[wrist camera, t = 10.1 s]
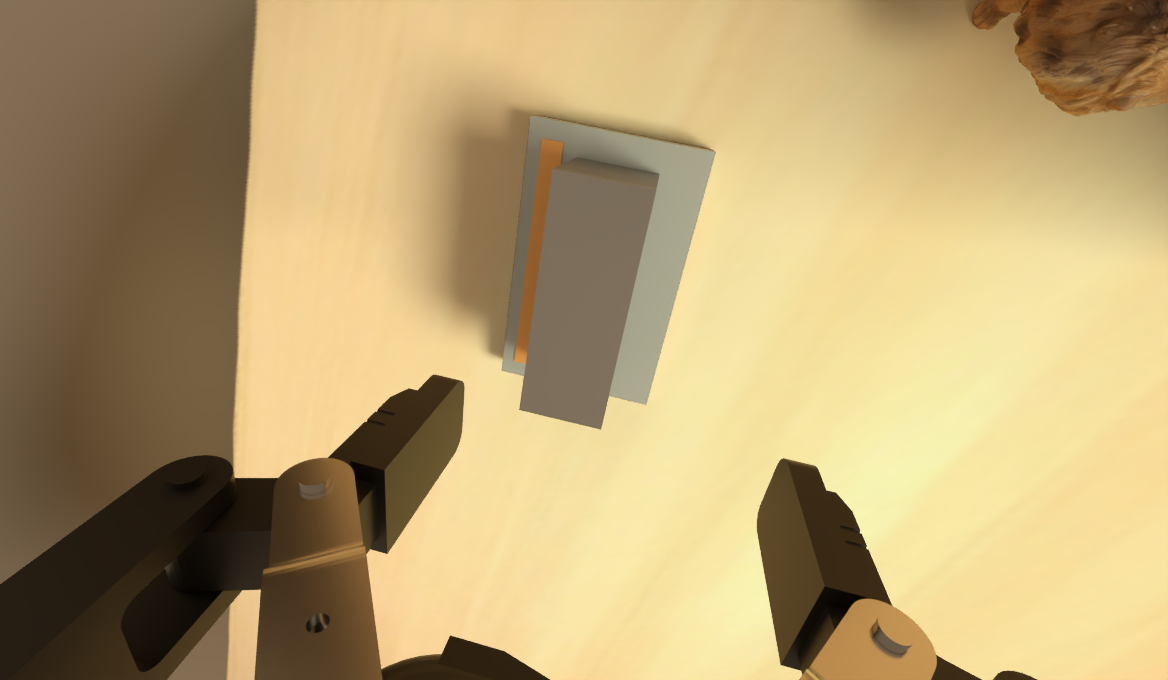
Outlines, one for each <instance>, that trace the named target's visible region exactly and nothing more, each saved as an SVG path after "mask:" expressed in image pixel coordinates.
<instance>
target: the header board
mask: <svg viewBox="0 0 1168 680" xmlns="http://www.w3.org/2000/svg"><path fill="white" fill-rule="evenodd" d="M715 153H716V152H715V151H714V150H710V149H705V148H700V147H695V146H689V145H684V144H679V143H674V142H669V141H664V140H659V139H654V138H649V137H644V136H639V135H634V134H629V133H624V132H619V131H614V130H609V129H604V128H599V127H594V126H588V125H583V124H578V123H573V122H568V121H563V120H558V119H553V118H548V117H543V116H538V115H534V116H531V117H530V126H529V135H528V143H527V152H526V161H525V170H524V179H523V187H522V196H521V205H520V214H519V223H518V231H517V240H516V249H515V258H514V267H513V276H512V284H511V293H510V302H509V311H508V320H507V328H506V337H505V346H504V355H503V364H502V371H505V372H509V373H514V374H518V375H522V376H524V373H525V366H526V358H527V351H528V344H529V336H530V329H531V322H532V315H533V307H534V300H535V293H536V286H537V278H538V271H539V264H540V256H541V249H542V242H543V235H544V227H545V220H546V213H547V206H548V198H549V191H550V184H551V176H552V169H553V168H555V167H557V166H559V165H561V164H563V163H566V162H568V161H570V160H572V159H574V158H576V157H579V158H584V159H588V160H593V161H598V162H603V163H608V164H613V165H618V166H623V167H628V168H633V169H638V170H643V171H648V172H653V173H658V174H659V179H658V185H657V190H656V194H655V199H654V203H653V207H652V212H651V216H650V220H649V225H648V229H647V233H646V237H645V242H644V246H643V250H642V255H641V259H640V263H639V268H638V272H637V276H636V281H635V285H634V289H633V294H632V298H631V302H630V307H629V311H628V315H627V319H626V324H625V328H624V332H623V337H622V341H621V345H620V350H619V354H618V358H617V363H616V367H615V371H614V376H613V380H612V384H611V388H610V393H609V396H611V397H615V398H620V399H624V400H628V401H632V402H637V403H641V404H645V405H646V404H647V400H648V396H649V393H650V389H651V385H652V382H653V378H654V375H655V371H656V367H657V364H658V360H659V356H660V353H661V349H662V345H663V342H664V338H665V335H666V331H667V327H668V324H669V320H670V316H671V313H672V309H673V305H674V302H675V298H676V295H677V291H678V287H679V284H680V280H681V276H682V273H683V269H684V265H685V262H686V258H687V255H688V251H689V247H690V244H691V240H692V236H693V233H694V229H695V226H696V222H697V218H698V215H699V211H700V207H701V204H702V200H703V196H704V193H705V189H706V186H707V182H708V178H709V175H710V171H711V167H712V164H713V160H714V156H715Z"/></svg>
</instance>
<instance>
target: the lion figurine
mask: <svg viewBox="0 0 1168 680" xmlns="http://www.w3.org/2000/svg"><path fill="white" fill-rule="evenodd" d="M1021 11H1022V12H1021ZM1011 12H1021V15H1020V16H1019V17H1018V18H1017V21H1016V22H1015V23H1014V30H1015V32H1016V34H1017V35H1018V36H1019V37H1020V38H1019V41H1018V43H1017V45H1016V47H1015V53H1016V54H1017V56H1018V57H1019V62H1021V63H1022V65H1023V66H1025V67H1026V68H1027V69H1028V70H1029V71H1031V74H1032V76H1033V78H1034V79H1035V81H1036V85H1037V86H1038V87H1039V92H1040V93H1041V94H1043V95H1045V98H1046V99H1048V100H1050V101H1052V102H1054V103H1055V104H1056V105H1057V106H1058V107H1059V108H1060V109H1061V110H1062V111H1064V112H1067V113H1070V114H1072V115H1075V116H1082V115H1086V114H1091V113H1099V112H1103V111H1104V112H1107V111H1110V110H1119V111H1126V110H1129V109H1131V108H1133V107H1146V106H1151V105H1155V104H1164V103H1167V102H1168V0H985V1H983V2H982V3H981V4H980V5H979V6H977V8H976V9H975V11H974V13H973V22H974V24H975V26H976V27H977V28H979V29H992V28H993V27H994V26H995V25H996V24H997V23H998V22H999V20H1000V19H1002V18H1004V17H1006V16H1008V15H1009V14H1010V13H1011Z"/></svg>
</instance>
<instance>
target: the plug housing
mask: <svg viewBox="0 0 1168 680" xmlns="http://www.w3.org/2000/svg"><path fill="white" fill-rule="evenodd" d="M658 179H659V174H658V173H653V172H648V171H643V170H638V169H633V168H628V167H623V166H618V165H613V164H608V163H603V162H598V161H593V160H588V159H584V158H579V157H576V158H574V159H572V160H570V161H568V162H566V163H563V164H561V165H559V166H557V167H555V168H553V169H552V176H551V184H550V191H549V198H548V206H547V213H546V220H545V227H544V235H543V242H542V249H541V256H540V264H539V271H538V278H537V286H536V293H535V300H534V307H533V315H532V322H531V329H530V336H529V344H528V351H527V358H526V366H525V373H524V380H523V387H522V395H521V402H520V409H519V410H522V411H526V412H531V413H535V414H539V415H543V416H547V417H551V418H555V419H560V420H564V421H568V422H572V423H576V424H580V425H585V426H589V427H593V428H597V429H601V427H602V423H603V419H604V414H605V410H606V406H607V401H608V397H609V393H610V388H611V384H612V380H613V376H614V371H615V367H616V363H617V358H618V354H619V350H620V345H621V341H622V337H623V332H624V328H625V324H626V319H627V315H628V311H629V307H630V302H631V298H632V294H633V289H634V285H635V281H636V276H637V272H638V268H639V263H640V259H641V255H642V250H643V246H644V242H645V237H646V233H647V229H648V225H649V220H650V216H651V212H652V207H653V203H654V199H655V194H656V190H657V185H658Z"/></svg>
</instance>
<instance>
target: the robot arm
mask: <svg viewBox="0 0 1168 680" xmlns="http://www.w3.org/2000/svg"><path fill="white" fill-rule="evenodd" d="M463 405H464V383H463V381H460V380H456V379H451V378H447V377H443V376H439V375H432V376H431V377H430V378H429V379H428V380H427V381H426V382H425V383H424V384H423V385H422V386H421V387H420V388H419V390H418V391H417V390H413V389H407V390H405V391H402V392H400V393H398V394H396V395H394V396H392V397H390V398H389V399H388V400H387V401H386V402H385V403H384V404H383V405H382V406H381V407H380V408H379V409H378V411H377V412H375V413H374V414H372V415H371V416H370V417H369V418H368V419H367V422H364V423H363V424H362V425H361V426H360V427H359V428H358V429H357V430H356V431H355V432H354V433H353V434H352V435H351V436H350V437H349V438H348V439H347V440H346V441H345V442H344V443H343V444H342V445H341V446H339V447H338V448H337V449H336V450H335V451H334V452H333V453H332V454H331V455H330V456H329V457H328V458H317V459H311V460H307V461H304V462H301V463H299V464H296V465H294V466H293V467H291V468H289V469H288V470H286V471H285V472H284V473H283V474H282V475H281V476H280V477H279V478H235V477H234V472H233V468H232V465H231V464H230V462H228V461H227V460H225V459H223V458H221V457H217V456H208V455H203V456H193V457H188V458H184V459H180V460H177V461H174V462H171V463H169V464H167V465H165V466H163V467H161V468H159V469H158V470H156V471H154V472H153V473H151V474H150V475H149V476H147V477H146V478H145V479H143V480H142V481H141V482H139V483H138V484H136V485H135V486H134V487H132V488H131V489H130V490H128V491H127V492H126V493H124V494H123V495H121V496H120V497H119V498H117V499H116V500H115V501H113V502H112V503H111V504H109V505H108V506H106V507H105V508H104V509H102V510H101V511H100V512H98V513H97V514H96V515H94V516H93V517H92V518H90V519H89V520H87V521H86V522H85V523H83V524H82V525H81V526H79V527H78V528H77V529H75V530H74V531H72V532H71V533H70V534H68V535H67V536H66V537H64V538H63V539H62V540H61V541H59V542H58V543H56V544H55V545H53V546H52V547H51V548H49V549H48V550H47V551H45V552H44V553H42V554H41V555H40V556H38V557H37V558H36V559H34V560H33V561H32V562H30V563H29V564H27V565H26V566H25V567H23V568H22V569H21V570H19V571H18V572H17V573H15V574H14V575H13V576H11V577H10V578H8V579H7V580H6V581H4V582H3V583H2V584H0V680H167V679H168V678H169V676H170V675H171V674H172V673H173V672H174V670H175V669H176V668H177V667H178V666H179V664H180V663H181V662H182V661H183V660H184V659H185V657H186V656H187V655H188V654H189V653H190V651H191V650H192V649H193V648H194V647H195V646H196V644H197V643H198V642H199V641H200V640H201V638H202V637H203V636H204V635H205V634H206V633H207V631H208V630H209V629H210V628H211V627H212V625H213V624H214V623H215V622H216V621H217V619H218V618H219V617H220V616H221V615H222V613H223V612H224V611H225V610H226V609H227V608H228V606H229V605H230V604H231V603H232V602H233V601H234V599H235V598H236V597H237V596H238V595H239V593H240V592H241V591H242V590H259V589H261V596H260V610H259V624H258V638H257V652H256V666H255V680H550V679H548V678H546V677H545V676H543V675H542V674H540V673H538V672H537V671H535V670H534V669H532V668H530V667H529V666H527V665H526V664H524V663H522V662H521V661H519V660H518V659H516V658H514V657H513V656H511V655H509V654H508V653H506V652H505V651H501V650H498V649H495V648H491V647H488V646H484V645H481V644H477V643H474V642H470V641H467V640H464V639H460V638H457V637H453V636H450V637H449V639H448V642H447V644H446V646H445V648H444V651H443V653H442V654H434V655H425V656H418V657H414V658H410V659H406V660H403V661H400V662H397V663H395V664H392V665H389V666H387V667H385V668H383V669H381V664H380V656H379V649H378V641H377V633H376V626H375V618H374V610H373V603H372V595H371V587H370V580H369V572H368V564H367V557H366V554H367V553H368V551H369V550H370V549H372V550H375V551H379V552H382V553H386V554H387V553H388V552H389V551H390V549H391V548H392V546H393V545H394V543H395V542H396V540H397V539H398V537H399V536H400V534H401V533H402V531H403V530H404V528H405V527H406V525H407V524H408V522H409V521H410V519H411V518H412V516H413V515H414V513H415V512H416V510H417V509H418V507H419V506H420V504H421V503H422V501H423V500H424V498H425V497H426V495H427V494H428V492H429V491H430V489H431V488H432V486H433V485H434V484H435V482H436V481H437V479H438V478H439V476H440V475H441V473H442V472H443V470H444V469H445V467H446V466H447V464H448V463H449V461H450V460H451V458H452V457H453V455H454V454H455V452H456V450H457V447H458V445H459V442H460V438H461V434H462V422H463ZM757 534H758V539H759V545H760V550H761V556H762V562H763V567H764V573H765V579H766V584H767V590H768V596H769V601H770V607H771V613H772V618H773V624H774V630H775V635H776V641H777V646H778V652H779V658H780V663H781V665H783V666H786V667H790V668H794V669H797V670H801V671H802V676H801V678H800V679H799V680H981V679H979V678H978V677H976V676H974V675H972V674H970V673H968V672H966V671H964V670H962V669H961V668H959V667H957V666H955V665H953V664H951V663H949V662H947V661H945V660H944V659H942V658H940V657H939V656H937V655H936V653H935V650H934V648H933V645H932V644H931V642H930V640H929V638H928V637H927V636H926V634H925V633H924V632H923V630H922V629H921V628H920V627H919V626H918V625H917V624H916V623H915V622H914V621H913V620H912V619H911V618H909V617H908V616H907V615H906V614H904V613H903V612H901V611H900V610H898V609H897V608H895V607H893V606H892V604H891V602H890V599H889V597H888V595H887V592H886V590H885V588H884V585H883V583H882V581H881V578H880V576H879V573H878V571H877V569H876V566H875V564H874V562H873V559H872V557H871V555H870V552H869V550H867V549H866V546H867V545H866V543H865V541H864V538H863V536H862V534H860V529H859V526H858V524H857V522H856V519H855V517H854V515H853V512H852V511H851V509H850V508H849V507H848V506H847V505H846V504H845V503H844V501H843V500H842V499H841V498H840V497H839V496H838V495H837V493H834V492H830V491H826V489H825V486H824V483H823V481H822V478H821V475H820V473H819V470H818V468H817V467H816V466H813V465H809V464H805V463H801V462H796V461H792V460H788V459H781V460H780V461H779V463H778V465H777V467H776V469H775V472H774V474H773V476H772V479H771V481H770V484H769V486H768V488H767V491H766V493H765V495H764V498H763V500H762V502H761V505H760V508H759V512H758V517H757ZM150 581H151V582H150ZM149 582H150V583H149ZM148 583H149V584H148ZM147 584H148V585H147ZM146 585H147V586H146ZM145 586H146V587H145ZM993 680H1037V679H1035V678H1033V677H1031V676H1028V675H1025V674H1023V673H1019V672H1015V671H1003V672H1000V673H998V674H997V675H996V676H995V678H994V679H993Z"/></svg>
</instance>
